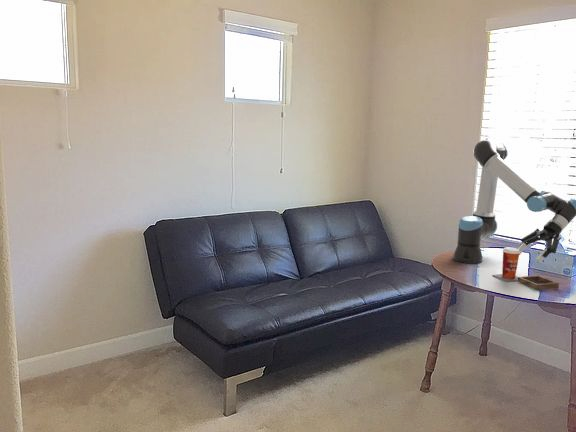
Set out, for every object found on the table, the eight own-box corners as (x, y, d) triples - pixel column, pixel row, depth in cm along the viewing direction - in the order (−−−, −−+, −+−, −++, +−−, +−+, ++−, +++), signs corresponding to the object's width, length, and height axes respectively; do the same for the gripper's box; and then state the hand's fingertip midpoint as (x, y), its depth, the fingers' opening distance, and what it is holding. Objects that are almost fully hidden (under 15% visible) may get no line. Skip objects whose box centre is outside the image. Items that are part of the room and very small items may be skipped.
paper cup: (507, 280, 230) (510, 251, 228) (496, 275, 238) (499, 247, 235) (521, 279, 233) (524, 250, 230) (509, 274, 240) (512, 246, 237)
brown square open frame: (517, 282, 230) (517, 277, 229) (537, 280, 233) (538, 275, 233) (537, 290, 219) (537, 285, 218) (558, 288, 222) (559, 282, 222)
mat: (492, 276, 239) (492, 274, 238) (509, 274, 242) (509, 273, 241) (507, 282, 229) (507, 281, 229) (524, 280, 232) (524, 279, 232)
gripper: (580, 236, 228) (551, 269, 226) (539, 225, 251) (512, 255, 249) (573, 225, 225) (543, 259, 224) (532, 216, 249) (504, 246, 247)
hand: (526, 257), depth 236 cm, fingers open, 13 cm apart
